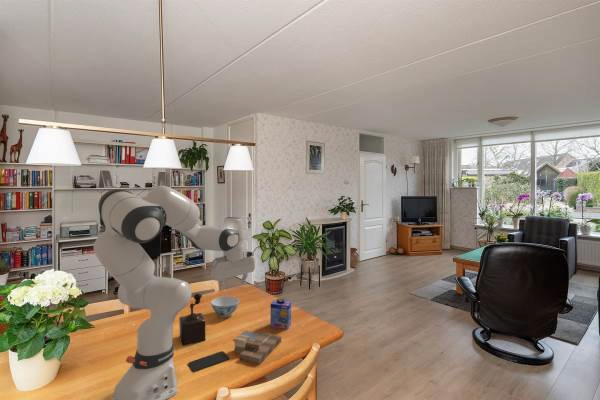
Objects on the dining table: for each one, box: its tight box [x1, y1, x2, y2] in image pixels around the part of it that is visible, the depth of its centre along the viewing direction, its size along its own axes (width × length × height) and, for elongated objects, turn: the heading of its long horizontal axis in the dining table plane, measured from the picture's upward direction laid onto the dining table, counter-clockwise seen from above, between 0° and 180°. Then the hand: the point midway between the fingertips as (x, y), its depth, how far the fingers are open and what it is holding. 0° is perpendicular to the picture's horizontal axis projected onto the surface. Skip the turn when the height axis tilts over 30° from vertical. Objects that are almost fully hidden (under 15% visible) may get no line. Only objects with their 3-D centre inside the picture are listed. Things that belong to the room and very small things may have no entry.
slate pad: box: [232, 330, 263, 342], centre depth 141 cm, size 10×11×1 cm
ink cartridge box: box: [269, 298, 292, 330], centre depth 154 cm, size 10×6×14 cm, turn 78°
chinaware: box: [210, 295, 240, 318], centre depth 166 cm, size 15×15×8 cm
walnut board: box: [239, 332, 282, 366], centre depth 131 cm, size 20×9×3 cm, turn 158°
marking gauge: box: [234, 333, 261, 354], centre depth 129 cm, size 4×11×6 cm, turn 68°
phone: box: [187, 350, 230, 373], centre depth 122 cm, size 7×1×15 cm
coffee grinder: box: [178, 292, 207, 346], centre depth 142 cm, size 16×11×18 cm
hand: (234, 285), depth 130 cm, fingers open, 8 cm apart
